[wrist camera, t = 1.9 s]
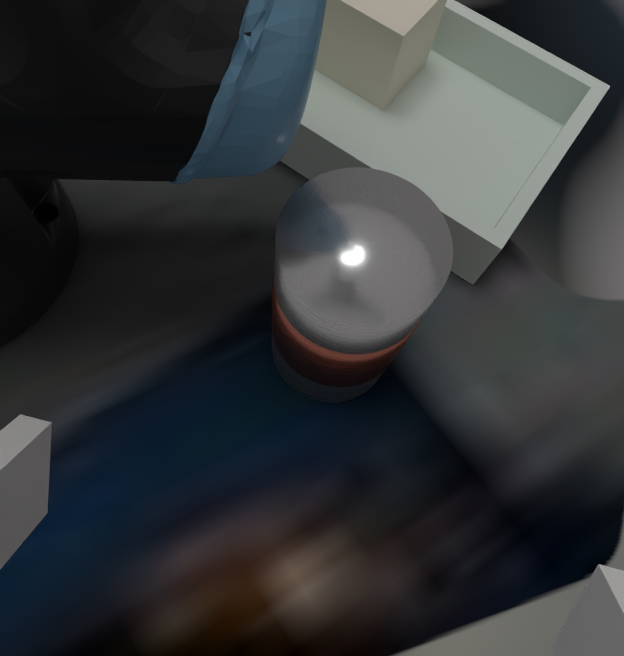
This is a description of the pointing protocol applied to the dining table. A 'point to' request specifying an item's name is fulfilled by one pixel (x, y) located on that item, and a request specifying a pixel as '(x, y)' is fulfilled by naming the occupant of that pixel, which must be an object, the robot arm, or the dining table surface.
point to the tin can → (353, 278)
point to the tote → (459, 130)
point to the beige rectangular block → (377, 44)
